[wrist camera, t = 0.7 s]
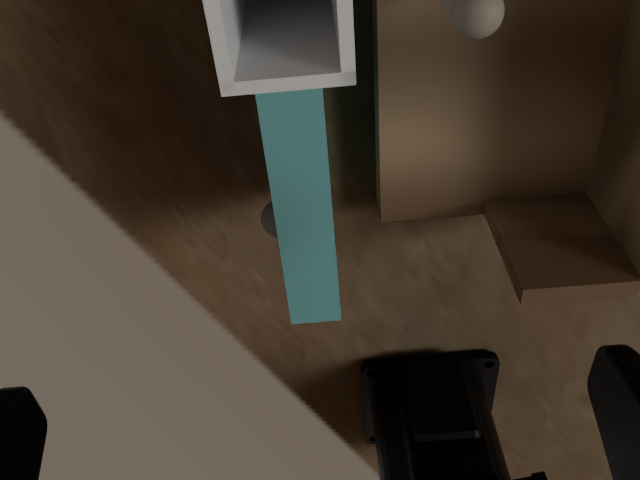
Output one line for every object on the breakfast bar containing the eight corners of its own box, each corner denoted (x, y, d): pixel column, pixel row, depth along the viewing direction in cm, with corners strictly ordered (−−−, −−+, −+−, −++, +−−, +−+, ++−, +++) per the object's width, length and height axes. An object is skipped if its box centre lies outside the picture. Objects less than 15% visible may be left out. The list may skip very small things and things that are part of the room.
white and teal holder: (349, 178, 22) (366, 318, 17) (270, 184, 22) (262, 326, 17) (331, -129, 16) (350, -62, 11) (222, -119, 16) (187, -47, 11)
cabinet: (584, 181, 23) (658, 293, 18) (376, 198, 23) (397, 313, 18) (668, -170, 16) (824, -133, 11) (368, -142, 16) (398, -93, 11)
